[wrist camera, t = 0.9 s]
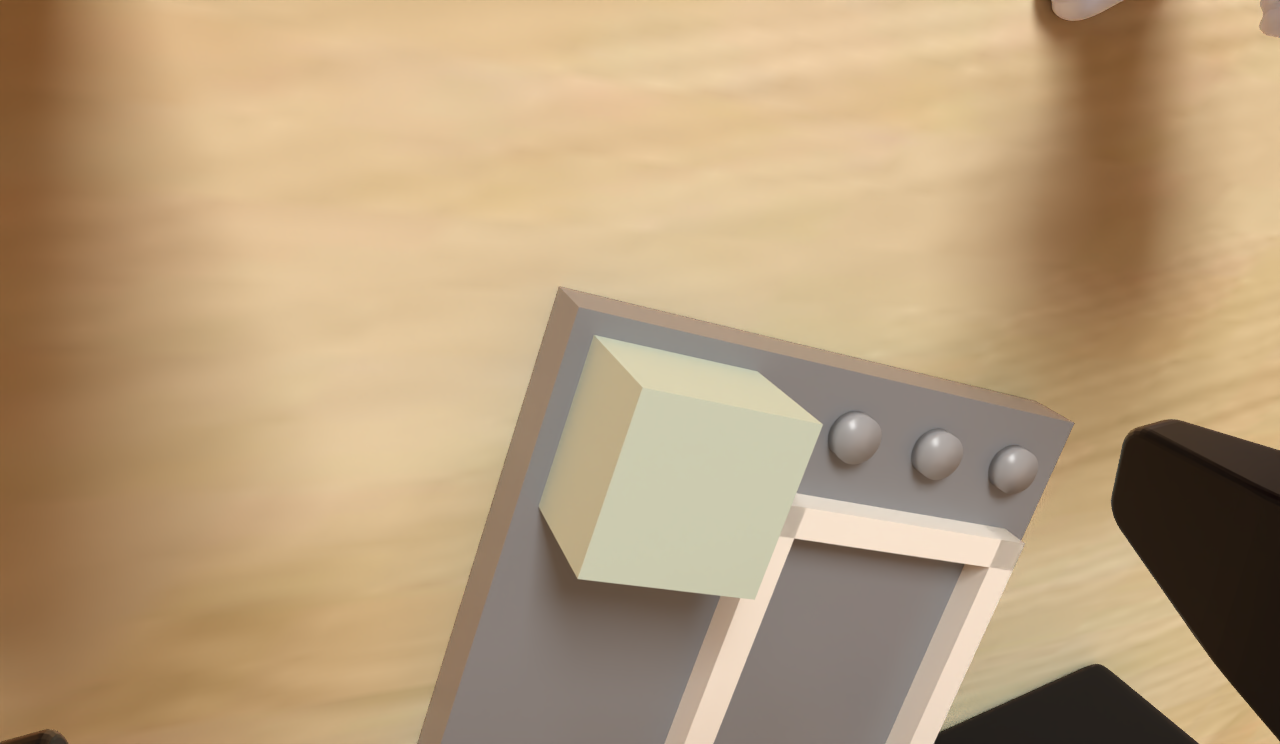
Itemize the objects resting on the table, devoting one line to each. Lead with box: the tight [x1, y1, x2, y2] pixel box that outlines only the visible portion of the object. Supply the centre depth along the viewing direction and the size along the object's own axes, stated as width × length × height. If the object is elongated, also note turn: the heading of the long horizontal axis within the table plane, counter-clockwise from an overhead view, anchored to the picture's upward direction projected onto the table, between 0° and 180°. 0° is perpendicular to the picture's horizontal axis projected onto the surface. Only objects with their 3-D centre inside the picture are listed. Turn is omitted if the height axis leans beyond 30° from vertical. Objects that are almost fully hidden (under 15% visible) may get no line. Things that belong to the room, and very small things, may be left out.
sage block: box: [539, 335, 823, 600], centre depth 22 cm, size 4×4×3 cm
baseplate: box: [418, 287, 1074, 744], centre depth 26 cm, size 14×14×2 cm
